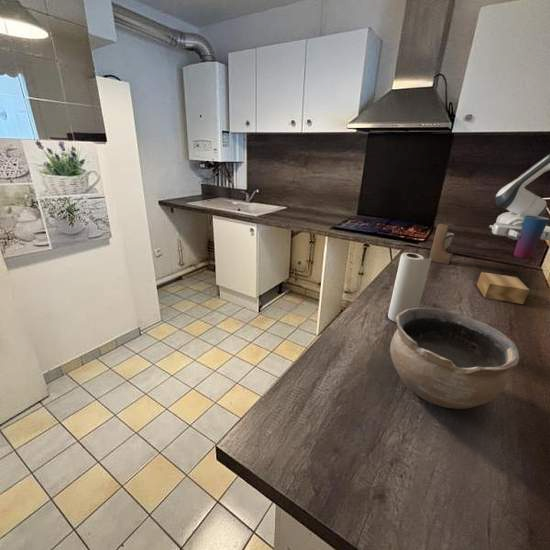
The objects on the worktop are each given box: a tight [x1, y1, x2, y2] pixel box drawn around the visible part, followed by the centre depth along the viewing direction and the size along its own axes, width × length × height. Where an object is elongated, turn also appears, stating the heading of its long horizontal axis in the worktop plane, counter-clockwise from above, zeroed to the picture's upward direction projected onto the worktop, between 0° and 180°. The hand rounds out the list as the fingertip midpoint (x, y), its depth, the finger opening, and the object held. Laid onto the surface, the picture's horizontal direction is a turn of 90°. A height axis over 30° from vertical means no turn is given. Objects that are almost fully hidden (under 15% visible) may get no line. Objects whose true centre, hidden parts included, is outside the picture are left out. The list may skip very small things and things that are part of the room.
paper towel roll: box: [387, 252, 432, 323], centre depth 88 cm, size 7×6×21 cm
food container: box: [444, 232, 455, 252], centre depth 156 cm, size 12×6×10 cm, turn 130°
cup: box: [513, 215, 550, 259], centre depth 108 cm, size 7×7×15 cm
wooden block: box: [428, 223, 453, 265], centre depth 139 cm, size 9×4×18 cm, turn 53°
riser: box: [476, 271, 530, 305], centre depth 110 cm, size 12×12×6 cm
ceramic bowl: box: [389, 307, 520, 410], centre depth 63 cm, size 22×22×15 cm
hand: (530, 236), depth 107 cm, fingers closed on cup, 6 cm apart
